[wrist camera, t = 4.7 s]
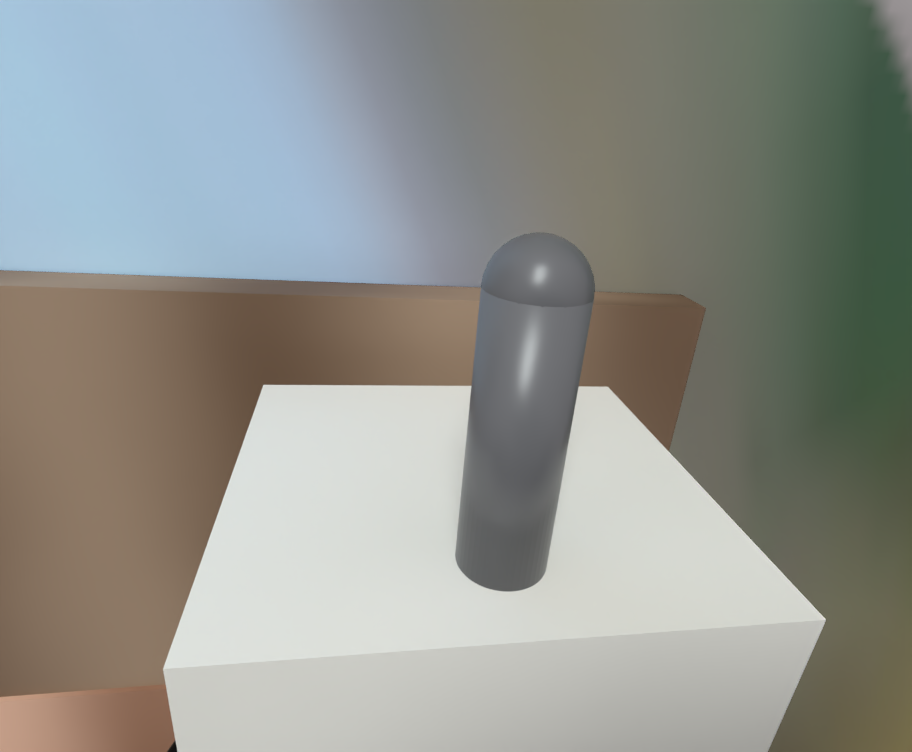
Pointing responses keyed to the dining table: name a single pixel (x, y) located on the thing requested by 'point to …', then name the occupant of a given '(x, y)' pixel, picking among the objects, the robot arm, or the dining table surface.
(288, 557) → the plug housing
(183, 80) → the dining table surface
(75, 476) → the mounting board
